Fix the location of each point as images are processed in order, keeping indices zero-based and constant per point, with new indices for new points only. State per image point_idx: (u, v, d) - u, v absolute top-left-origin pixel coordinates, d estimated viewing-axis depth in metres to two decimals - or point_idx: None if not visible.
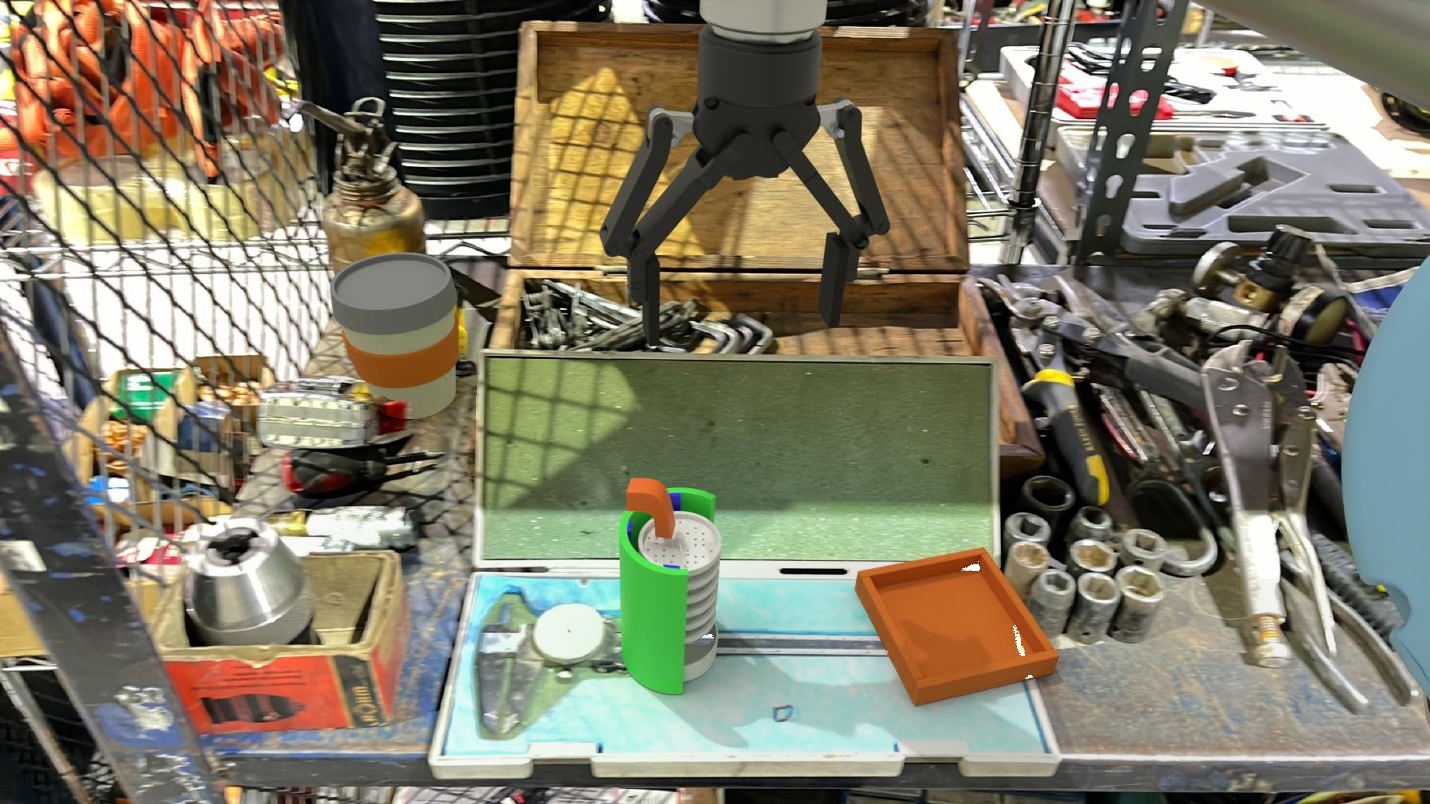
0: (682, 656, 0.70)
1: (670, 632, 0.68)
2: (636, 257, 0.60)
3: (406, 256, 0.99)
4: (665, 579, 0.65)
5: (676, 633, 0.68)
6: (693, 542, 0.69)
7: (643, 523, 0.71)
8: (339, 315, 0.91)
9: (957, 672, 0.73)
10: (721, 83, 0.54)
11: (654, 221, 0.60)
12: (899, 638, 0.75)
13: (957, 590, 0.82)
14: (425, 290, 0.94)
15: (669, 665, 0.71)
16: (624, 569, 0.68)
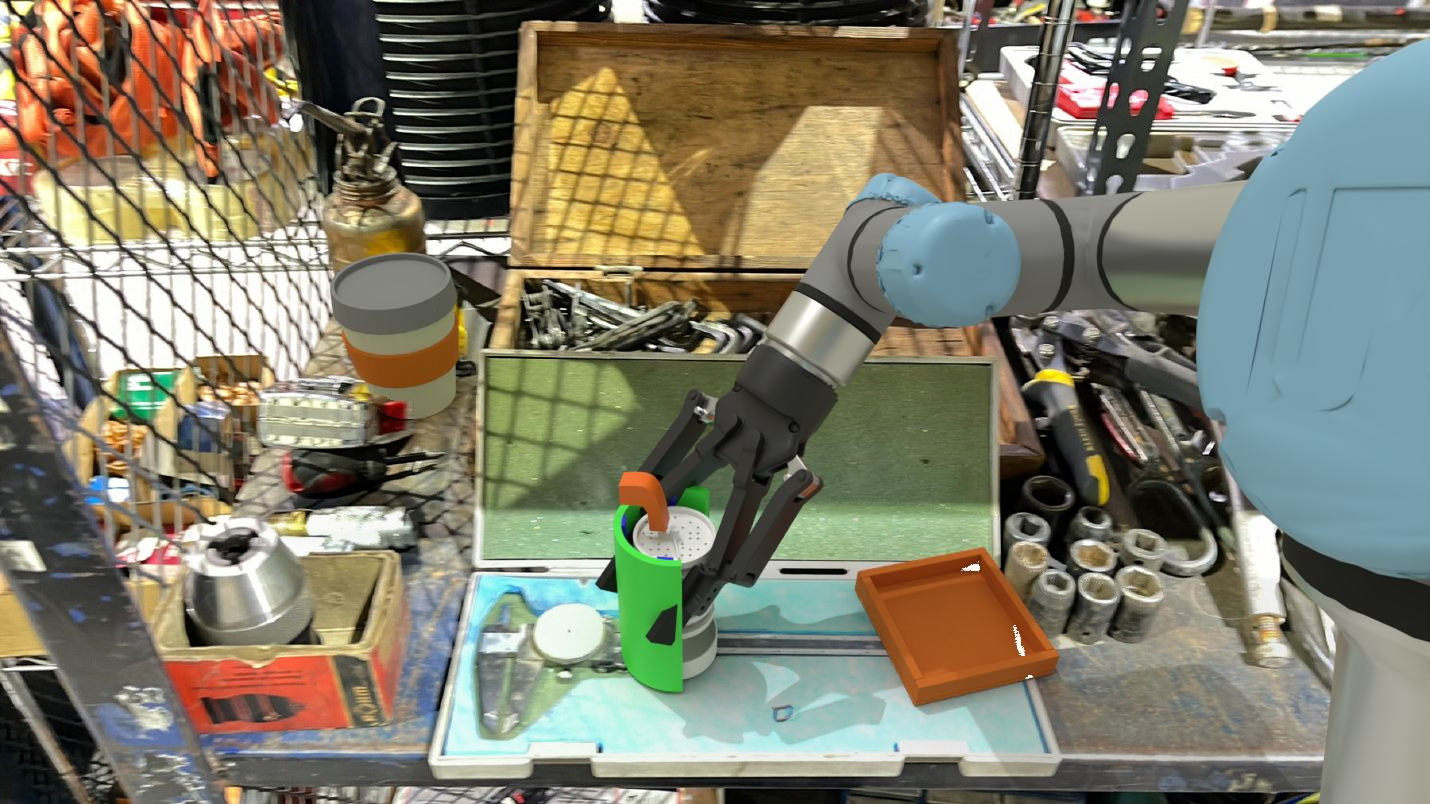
0: (680, 651, 0.70)
1: None
2: None
3: (406, 256, 0.99)
4: (659, 571, 0.65)
5: None
6: (688, 536, 0.70)
7: None
8: (339, 315, 0.91)
9: (957, 672, 0.73)
10: None
11: None
12: (899, 638, 0.75)
13: (957, 590, 0.82)
14: (425, 290, 0.94)
15: (668, 661, 0.71)
16: (619, 564, 0.68)
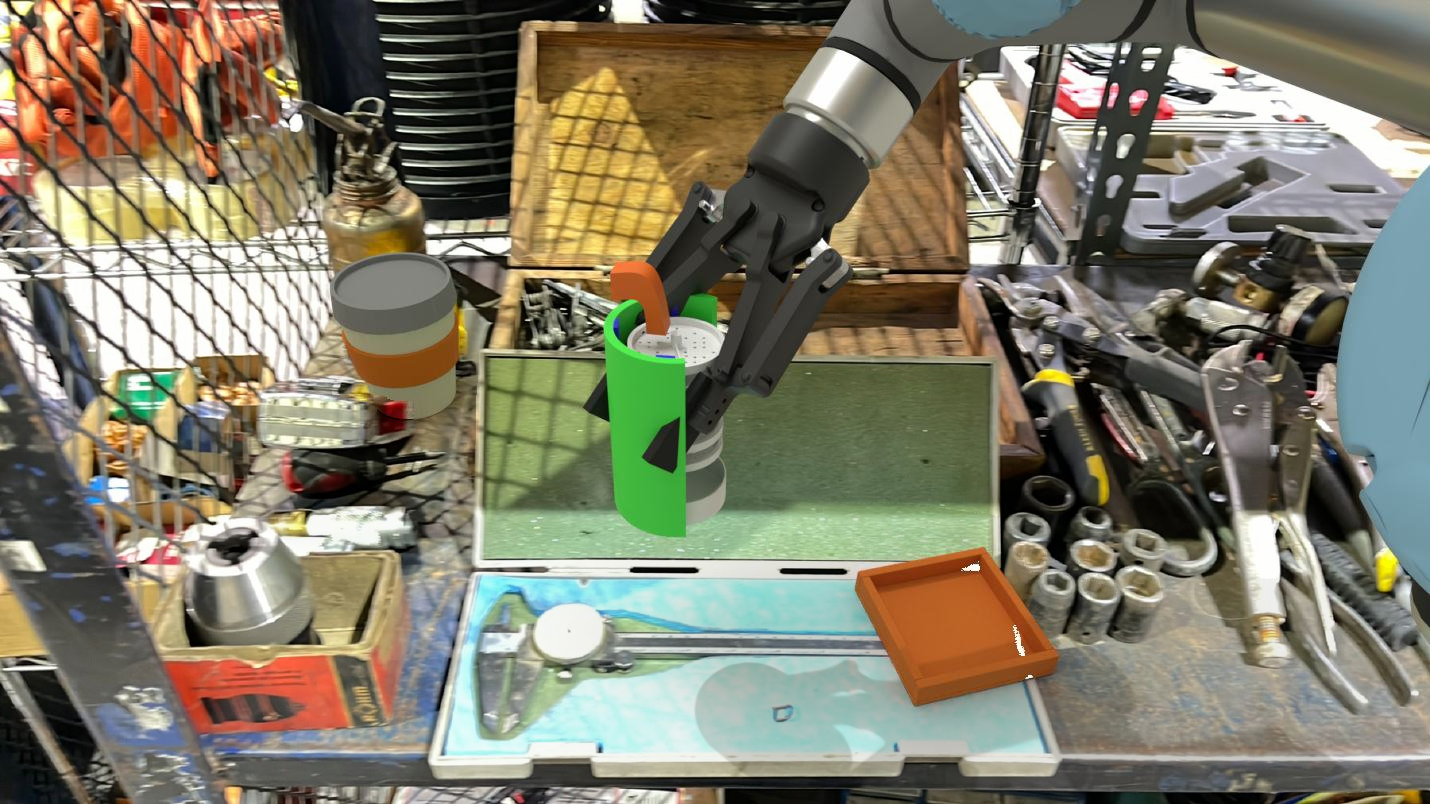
0: (683, 482, 0.59)
1: None
2: None
3: (406, 256, 0.99)
4: (658, 371, 0.54)
5: None
6: (692, 346, 0.59)
7: None
8: (339, 315, 0.91)
9: (957, 672, 0.73)
10: None
11: None
12: (899, 638, 0.75)
13: (957, 590, 0.82)
14: (425, 290, 0.94)
15: (668, 496, 0.60)
16: (611, 372, 0.57)
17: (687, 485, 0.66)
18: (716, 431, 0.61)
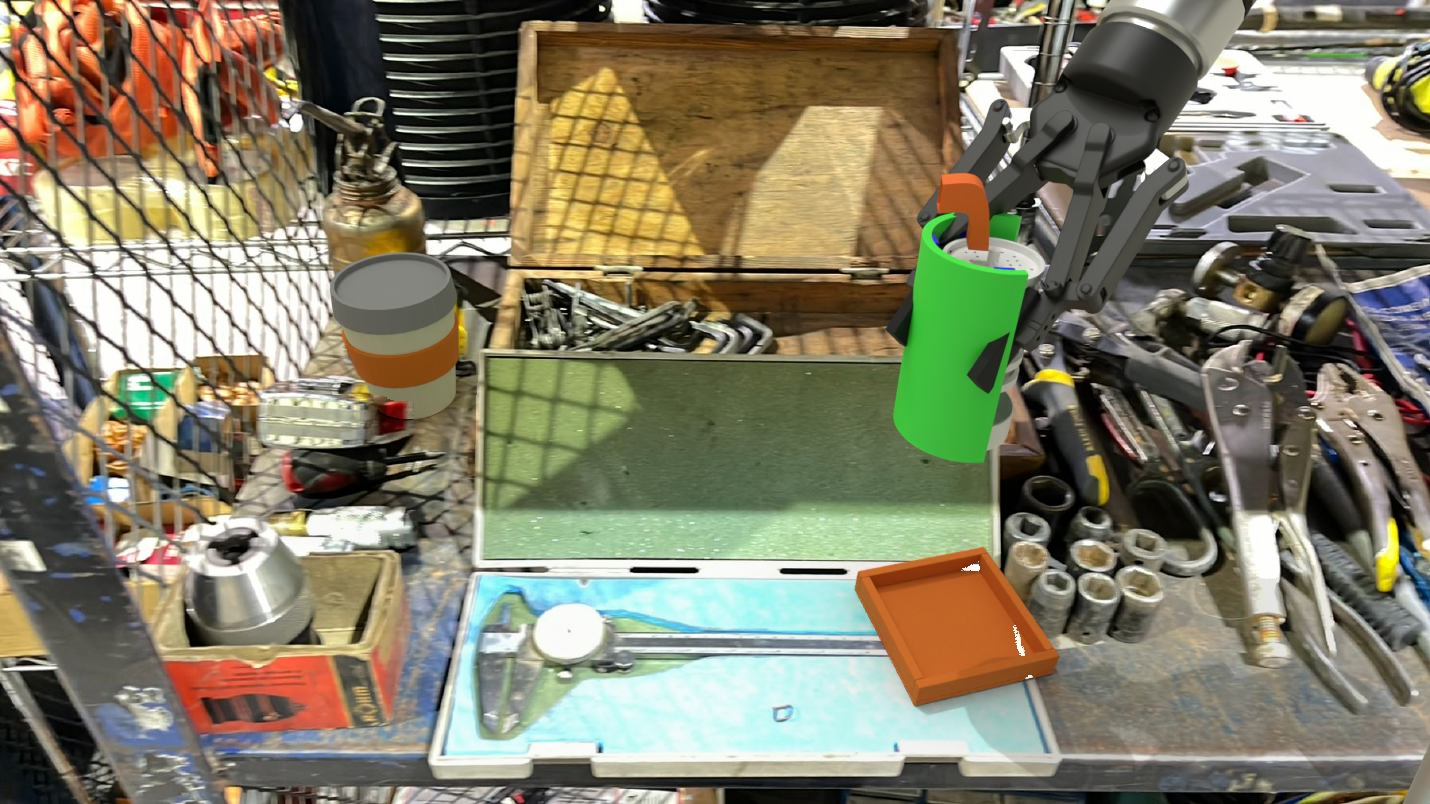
0: (995, 404, 0.58)
1: None
2: None
3: (406, 256, 0.99)
4: (999, 283, 0.53)
5: None
6: (1006, 264, 0.58)
7: None
8: (339, 315, 0.91)
9: (957, 672, 0.73)
10: (1072, 56, 0.57)
11: None
12: (899, 638, 0.75)
13: (957, 590, 0.82)
14: (425, 290, 0.94)
15: (977, 418, 0.59)
16: (933, 289, 0.56)
17: None
18: (1020, 353, 0.60)
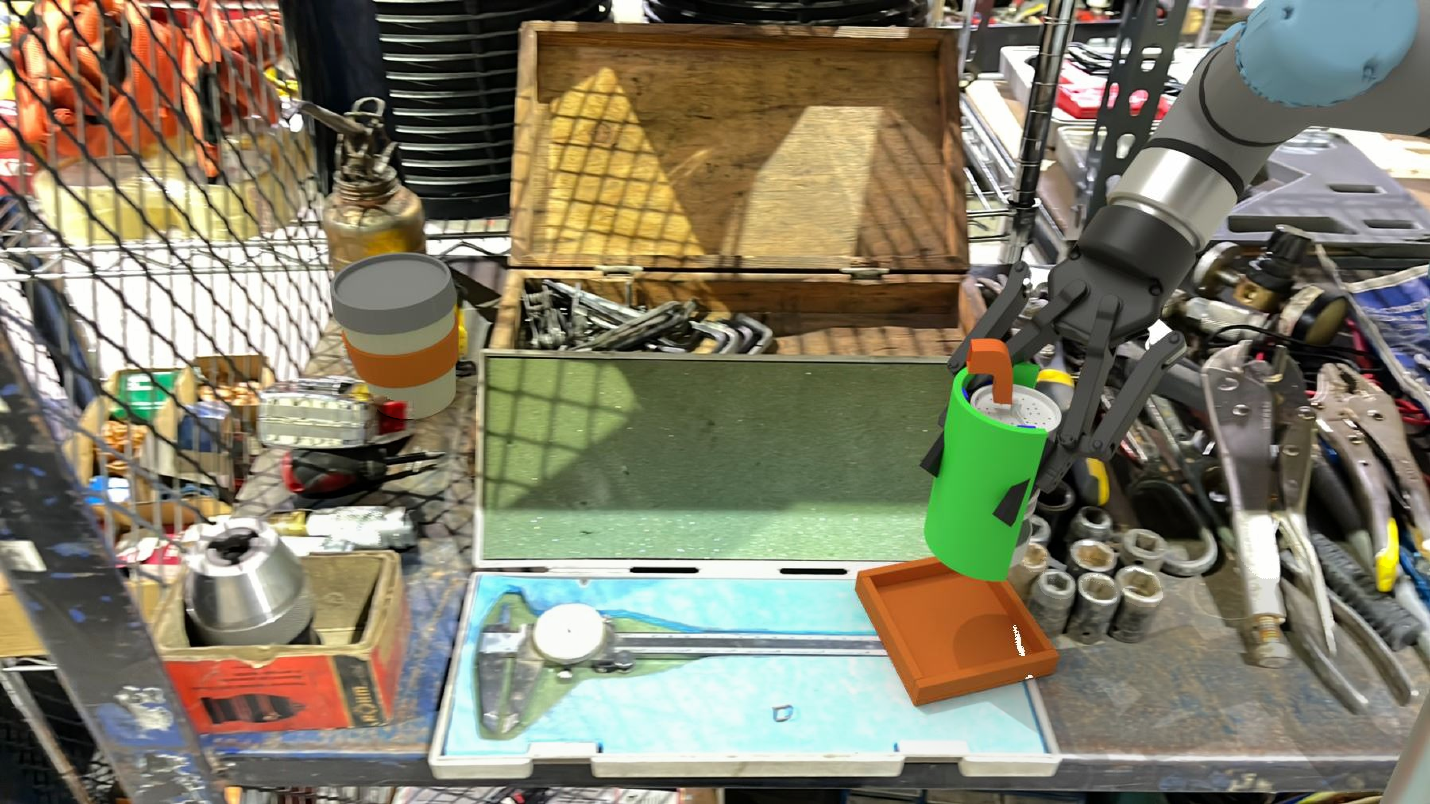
0: (1017, 534, 0.66)
1: None
2: None
3: (406, 256, 0.99)
4: (1021, 440, 0.61)
5: None
6: (1026, 412, 0.66)
7: None
8: (339, 315, 0.91)
9: (957, 672, 0.73)
10: (1085, 231, 0.65)
11: None
12: (899, 638, 0.75)
13: (957, 590, 0.82)
14: (425, 290, 0.94)
15: (1000, 546, 0.67)
16: (963, 438, 0.64)
17: None
18: None
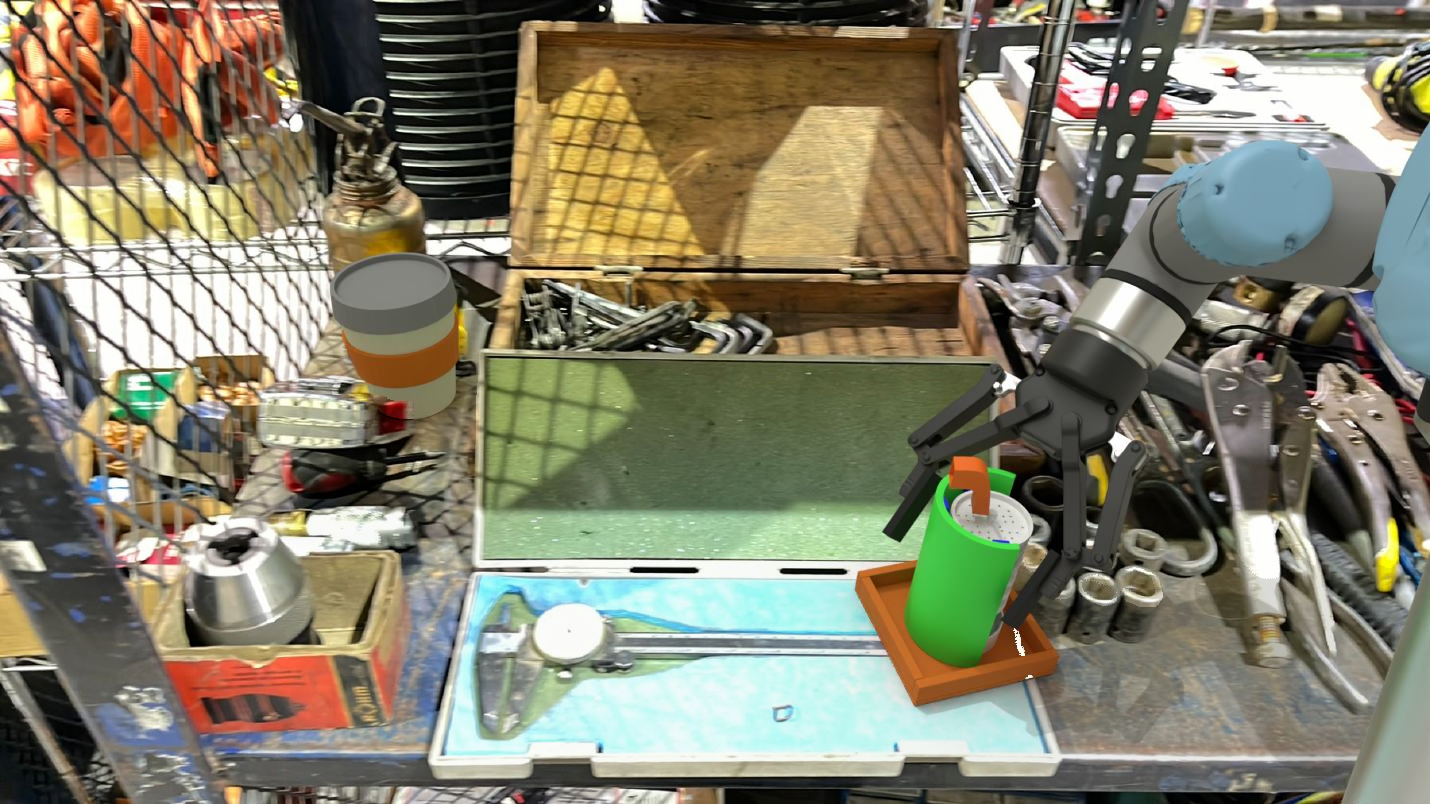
0: (989, 630, 0.72)
1: (985, 606, 0.70)
2: (923, 456, 0.75)
3: (406, 256, 0.99)
4: (996, 553, 0.67)
5: (991, 607, 0.70)
6: (1002, 519, 0.72)
7: None
8: (339, 315, 0.91)
9: (957, 672, 0.73)
10: (1049, 351, 0.71)
11: None
12: (899, 638, 0.75)
13: None
14: (425, 290, 0.94)
15: (973, 639, 0.73)
16: (943, 545, 0.70)
17: None
18: (1010, 584, 0.74)
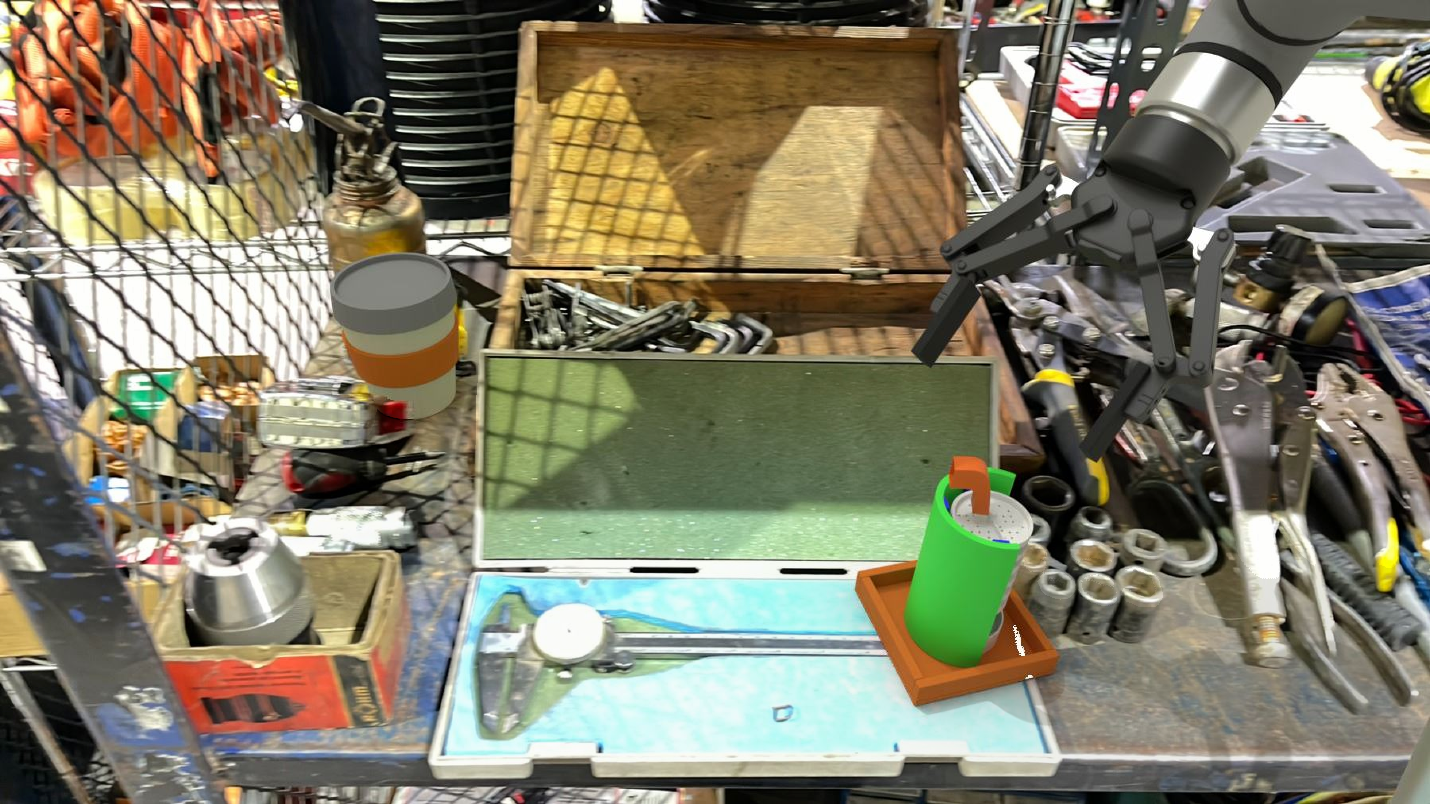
0: (989, 630, 0.72)
1: (985, 606, 0.70)
2: (958, 264, 0.66)
3: (406, 256, 0.99)
4: (996, 553, 0.67)
5: (991, 607, 0.70)
6: (1002, 519, 0.72)
7: None
8: (339, 315, 0.91)
9: (957, 672, 0.73)
10: (1112, 144, 0.61)
11: None
12: (899, 638, 0.75)
13: None
14: (425, 290, 0.94)
15: (973, 639, 0.73)
16: (943, 545, 0.70)
17: None
18: (1010, 584, 0.74)
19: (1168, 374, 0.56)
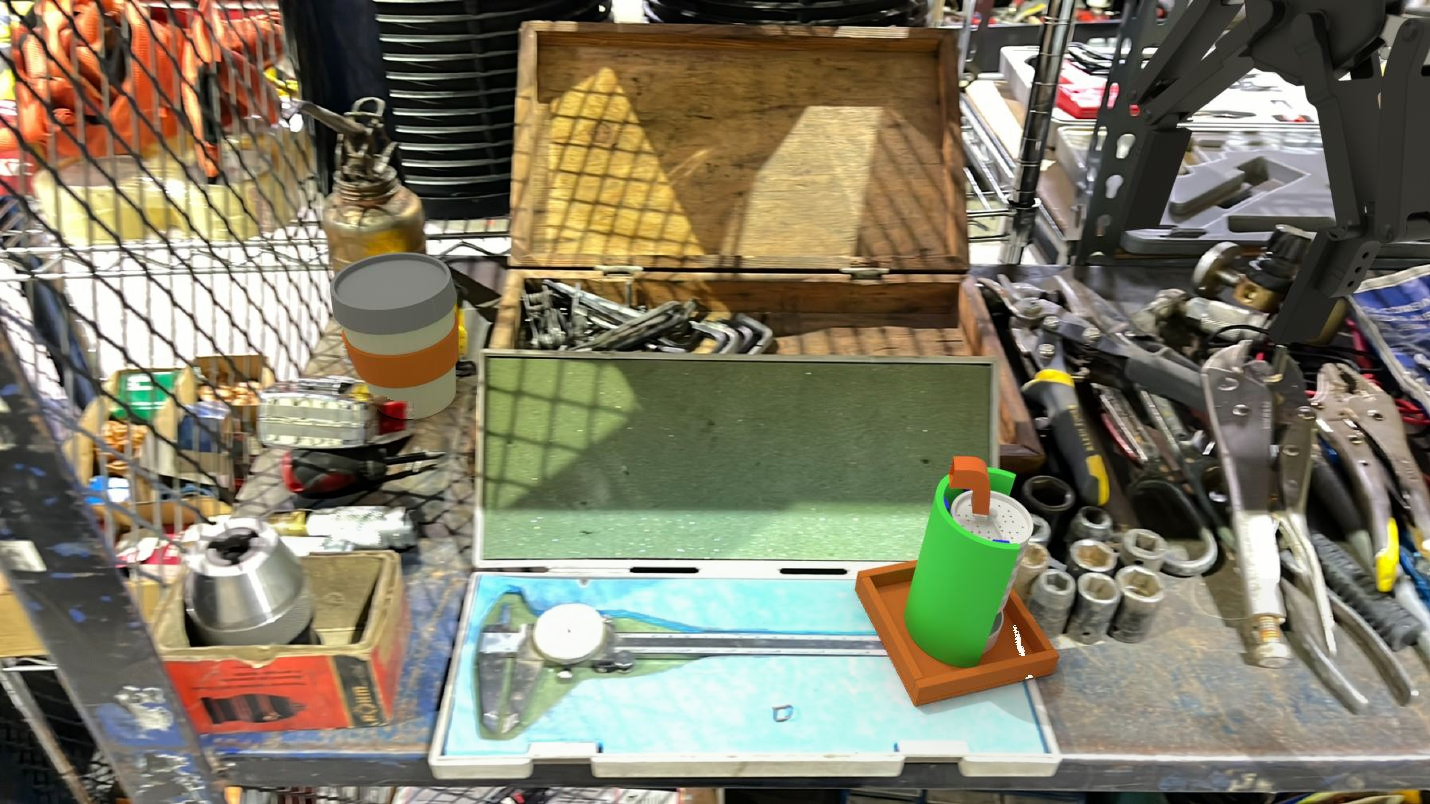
0: (989, 630, 0.72)
1: (985, 606, 0.70)
2: (1143, 115, 0.56)
3: (406, 256, 0.99)
4: (996, 553, 0.67)
5: (991, 607, 0.70)
6: (1002, 519, 0.72)
7: None
8: (339, 315, 0.91)
9: (957, 672, 0.73)
10: None
11: None
12: (899, 638, 0.75)
13: None
14: (425, 290, 0.94)
15: (973, 639, 0.73)
16: (943, 545, 0.70)
17: None
18: (1010, 584, 0.74)
19: (1360, 239, 0.44)
